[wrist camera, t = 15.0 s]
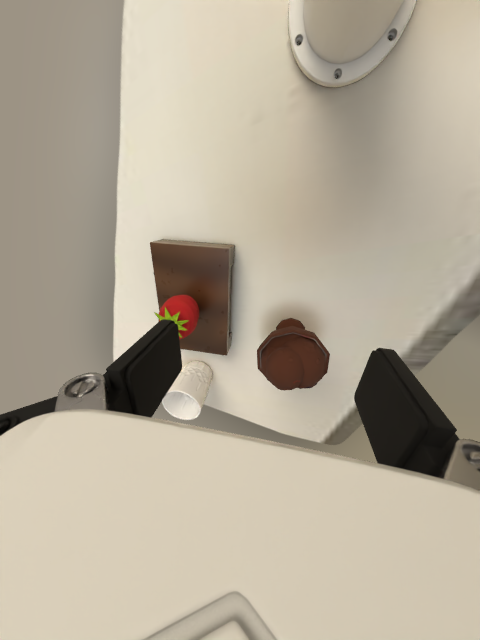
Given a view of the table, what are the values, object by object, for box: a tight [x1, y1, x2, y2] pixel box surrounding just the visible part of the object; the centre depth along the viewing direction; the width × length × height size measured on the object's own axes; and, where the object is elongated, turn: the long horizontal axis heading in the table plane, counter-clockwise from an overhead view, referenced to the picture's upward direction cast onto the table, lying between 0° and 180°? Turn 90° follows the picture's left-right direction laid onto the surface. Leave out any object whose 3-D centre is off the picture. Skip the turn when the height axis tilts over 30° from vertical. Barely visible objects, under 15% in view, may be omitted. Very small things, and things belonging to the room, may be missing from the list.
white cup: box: [162, 361, 212, 420], centre depth 46 cm, size 8×8×10 cm
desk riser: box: [150, 239, 234, 355], centre depth 40 cm, size 20×13×4 cm, turn 177°
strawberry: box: [154, 295, 199, 339], centre depth 34 cm, size 6×8×10 cm
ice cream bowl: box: [257, 318, 330, 390], centre depth 35 cm, size 11×11×15 cm
